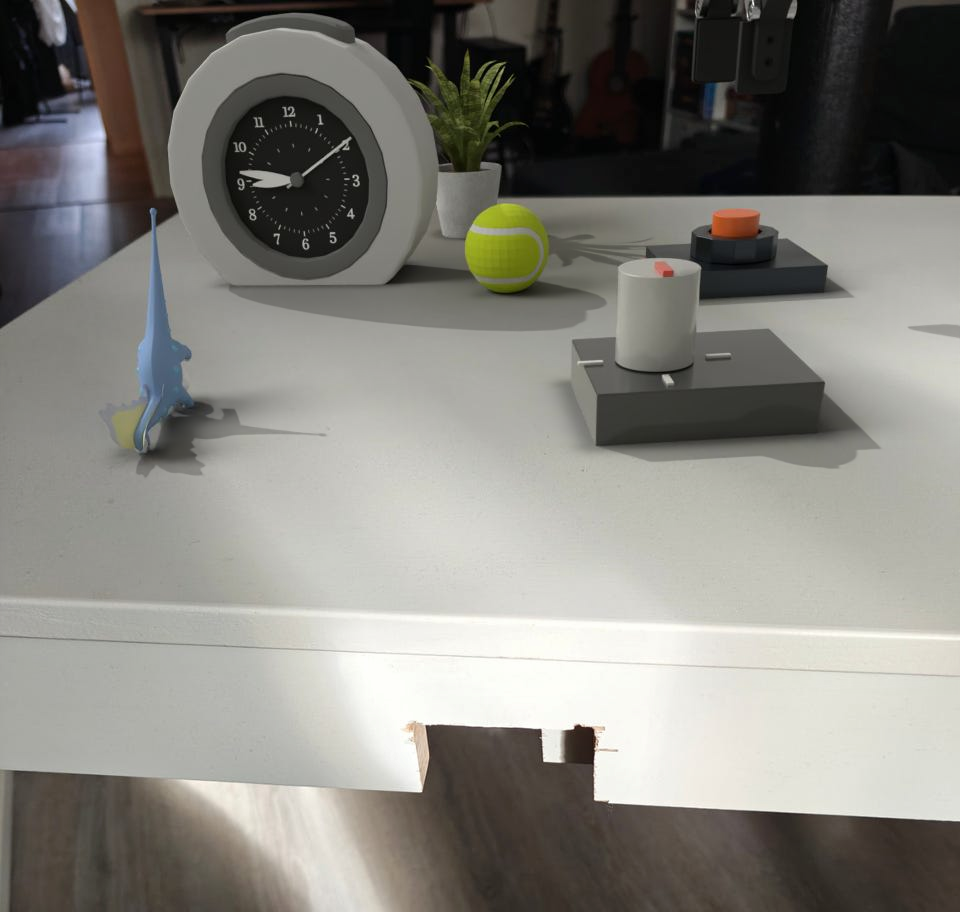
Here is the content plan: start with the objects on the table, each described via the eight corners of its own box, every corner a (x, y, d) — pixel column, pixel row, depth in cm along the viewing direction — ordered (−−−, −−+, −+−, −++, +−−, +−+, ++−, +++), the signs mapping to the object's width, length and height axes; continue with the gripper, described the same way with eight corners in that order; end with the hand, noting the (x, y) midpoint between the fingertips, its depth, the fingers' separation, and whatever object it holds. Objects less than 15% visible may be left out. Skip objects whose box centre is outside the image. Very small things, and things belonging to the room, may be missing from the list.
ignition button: (750, 230, 82) (752, 207, 81) (763, 239, 79) (766, 215, 78) (706, 233, 82) (708, 209, 81) (717, 242, 79) (719, 218, 78)
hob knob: (608, 350, 59) (611, 254, 56) (684, 346, 59) (690, 250, 56) (622, 374, 55) (626, 273, 52) (703, 369, 55) (711, 268, 52)
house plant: (441, 215, 112) (431, 43, 103) (558, 221, 106) (558, 40, 98) (374, 242, 101) (357, 53, 92) (500, 250, 96) (495, 50, 87)
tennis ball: (485, 307, 79) (482, 215, 76) (454, 288, 85) (450, 201, 81) (562, 295, 81) (563, 205, 78) (528, 278, 87) (527, 193, 83)
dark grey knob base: (763, 376, 63) (769, 325, 61) (817, 436, 55) (826, 378, 53) (566, 387, 63) (566, 336, 61) (590, 449, 54) (591, 391, 53)
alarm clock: (189, 287, 88) (138, 20, 78) (219, 267, 95) (176, 17, 84) (430, 286, 85) (412, 8, 75) (444, 265, 92) (430, 6, 81)
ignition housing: (784, 265, 87) (790, 215, 85) (824, 294, 78) (831, 240, 76) (644, 272, 87) (647, 222, 84) (669, 303, 78) (673, 248, 76)
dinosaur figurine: (158, 475, 63) (99, 447, 54) (148, 233, 63) (88, 162, 53) (205, 473, 63) (154, 445, 54) (195, 231, 63) (143, 159, 53)
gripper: (889, -278, 53) (840, 95, 62) (773, -220, 67) (747, 76, 76) (748, -274, 52) (720, 102, 61) (661, -215, 67) (649, 81, 76)
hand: (735, 87), depth 69 cm, fingers open, 9 cm apart
